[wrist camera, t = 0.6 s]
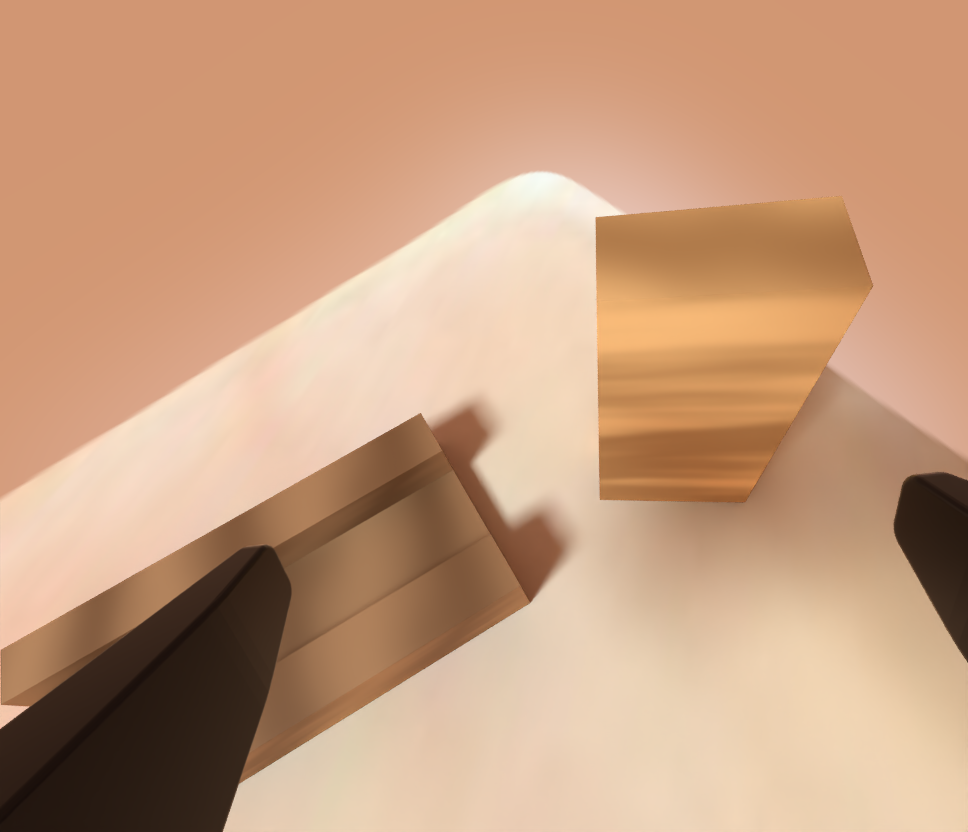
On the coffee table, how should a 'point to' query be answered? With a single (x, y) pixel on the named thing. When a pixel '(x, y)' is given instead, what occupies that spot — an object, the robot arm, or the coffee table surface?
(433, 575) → the walnut rail
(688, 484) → the oak stave
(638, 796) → the coffee table surface
